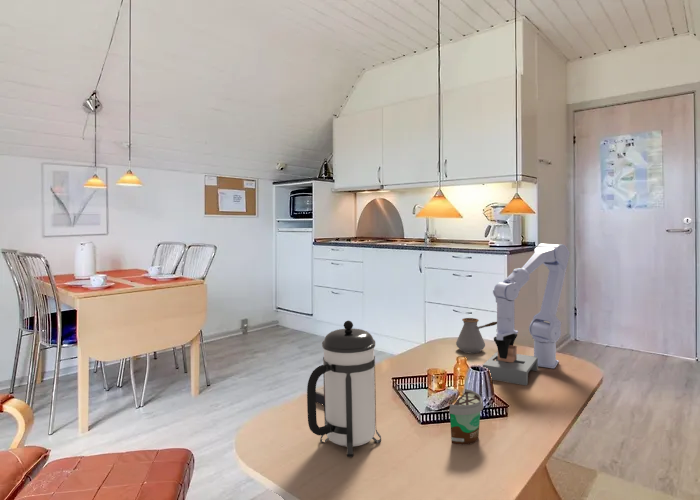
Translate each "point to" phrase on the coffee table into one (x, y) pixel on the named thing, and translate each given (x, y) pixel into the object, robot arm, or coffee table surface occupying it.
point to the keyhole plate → (512, 368)
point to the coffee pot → (471, 336)
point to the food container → (465, 418)
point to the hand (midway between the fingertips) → (505, 355)
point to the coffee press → (346, 389)
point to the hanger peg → (510, 354)
